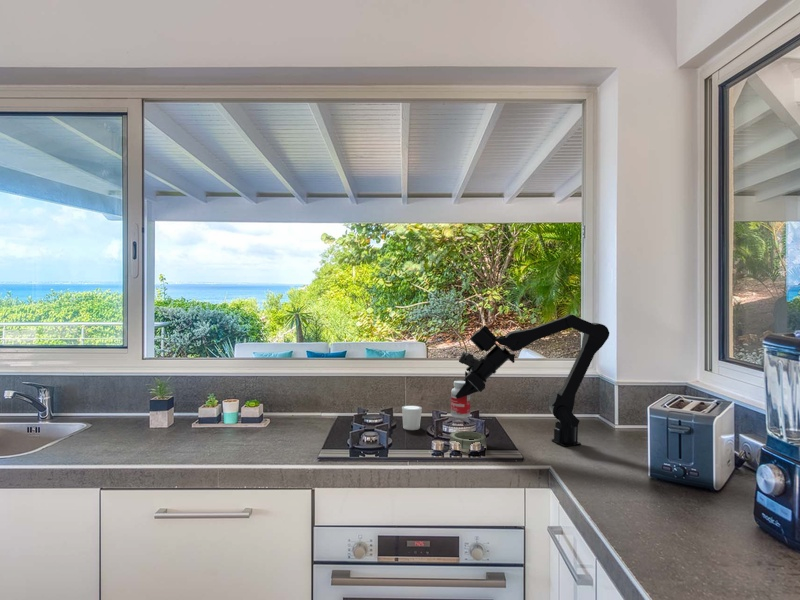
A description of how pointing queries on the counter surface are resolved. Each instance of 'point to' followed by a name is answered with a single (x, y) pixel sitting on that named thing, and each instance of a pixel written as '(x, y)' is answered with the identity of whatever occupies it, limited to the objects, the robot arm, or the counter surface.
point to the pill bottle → (459, 402)
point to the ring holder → (467, 439)
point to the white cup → (411, 417)
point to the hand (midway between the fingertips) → (456, 395)
